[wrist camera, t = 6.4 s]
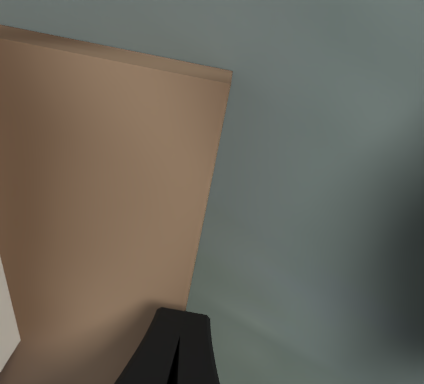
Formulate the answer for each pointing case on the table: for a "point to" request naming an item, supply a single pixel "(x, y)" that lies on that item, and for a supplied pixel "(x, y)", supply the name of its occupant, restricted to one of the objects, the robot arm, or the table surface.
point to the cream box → (6, 322)
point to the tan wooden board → (99, 197)
